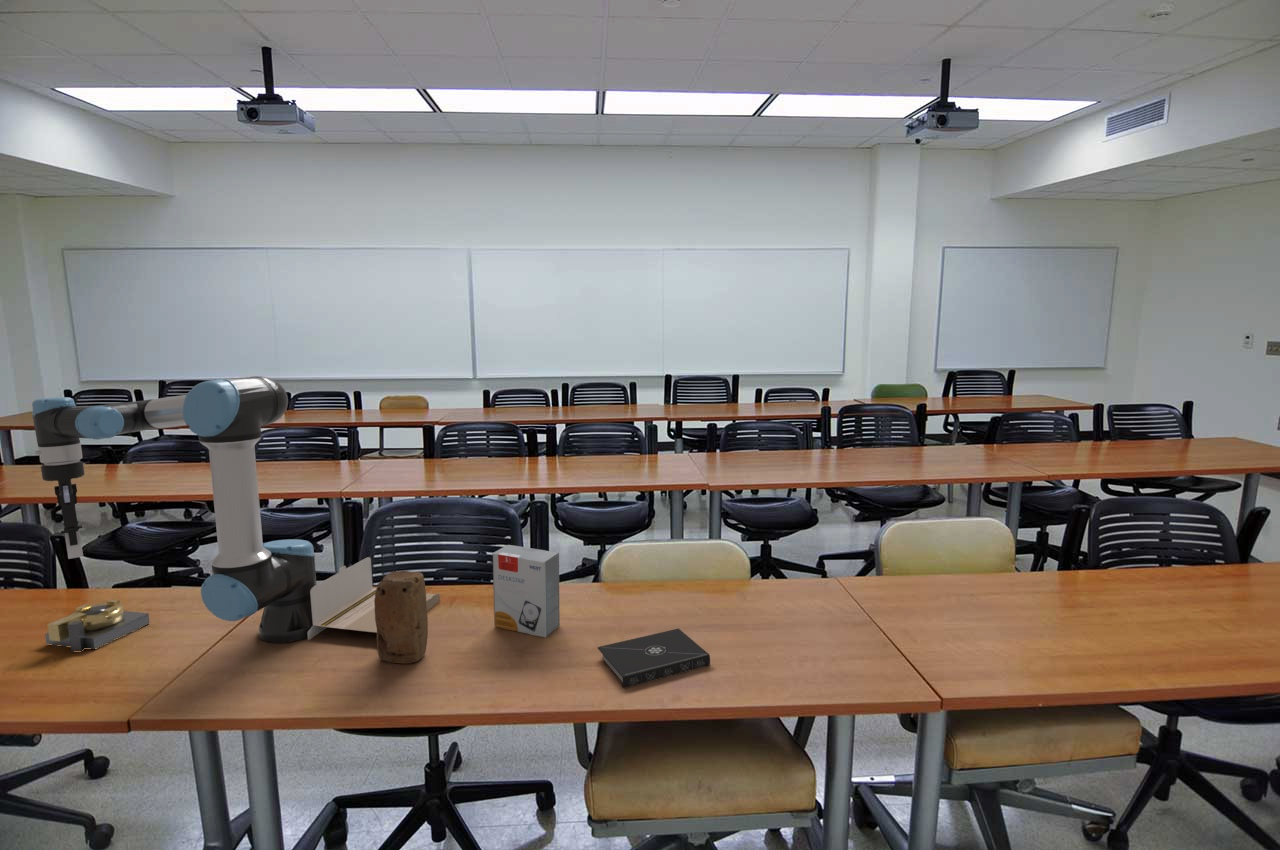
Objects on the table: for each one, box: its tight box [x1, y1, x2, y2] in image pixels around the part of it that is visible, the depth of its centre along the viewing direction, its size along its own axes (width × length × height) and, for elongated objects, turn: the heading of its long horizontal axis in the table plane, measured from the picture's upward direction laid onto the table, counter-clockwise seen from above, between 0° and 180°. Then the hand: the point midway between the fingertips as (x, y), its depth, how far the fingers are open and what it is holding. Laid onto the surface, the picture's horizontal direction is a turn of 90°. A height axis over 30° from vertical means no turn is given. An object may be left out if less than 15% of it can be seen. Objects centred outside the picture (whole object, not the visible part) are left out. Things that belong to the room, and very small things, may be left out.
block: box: [374, 570, 429, 664], centre depth 146 cm, size 11×8×20 cm
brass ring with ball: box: [47, 599, 125, 641], centre depth 155 cm, size 15×10×4 cm, turn 169°
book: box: [597, 628, 711, 689], centre depth 145 cm, size 22×15×3 cm
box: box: [307, 556, 441, 641], centre depth 166 cm, size 35×20×14 cm, turn 167°
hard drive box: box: [492, 544, 561, 638], centre depth 161 cm, size 16×8×20 cm, turn 68°
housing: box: [44, 610, 150, 652], centre depth 157 cm, size 14×16×7 cm
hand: (75, 556), depth 155 cm, fingers closed
